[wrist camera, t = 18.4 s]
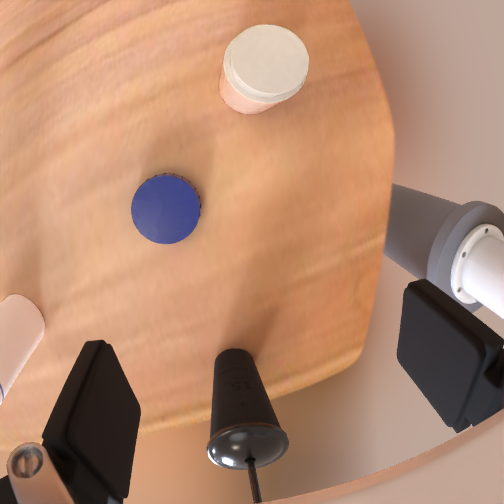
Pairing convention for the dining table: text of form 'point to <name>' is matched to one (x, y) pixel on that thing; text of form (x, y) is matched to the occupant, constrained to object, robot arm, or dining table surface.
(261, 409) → the drinking cup
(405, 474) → the robot arm
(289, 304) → the dining table surface
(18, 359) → the cylindrical container
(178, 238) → the lid
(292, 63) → the jar
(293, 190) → the dining table surface
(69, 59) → the dining table surface
